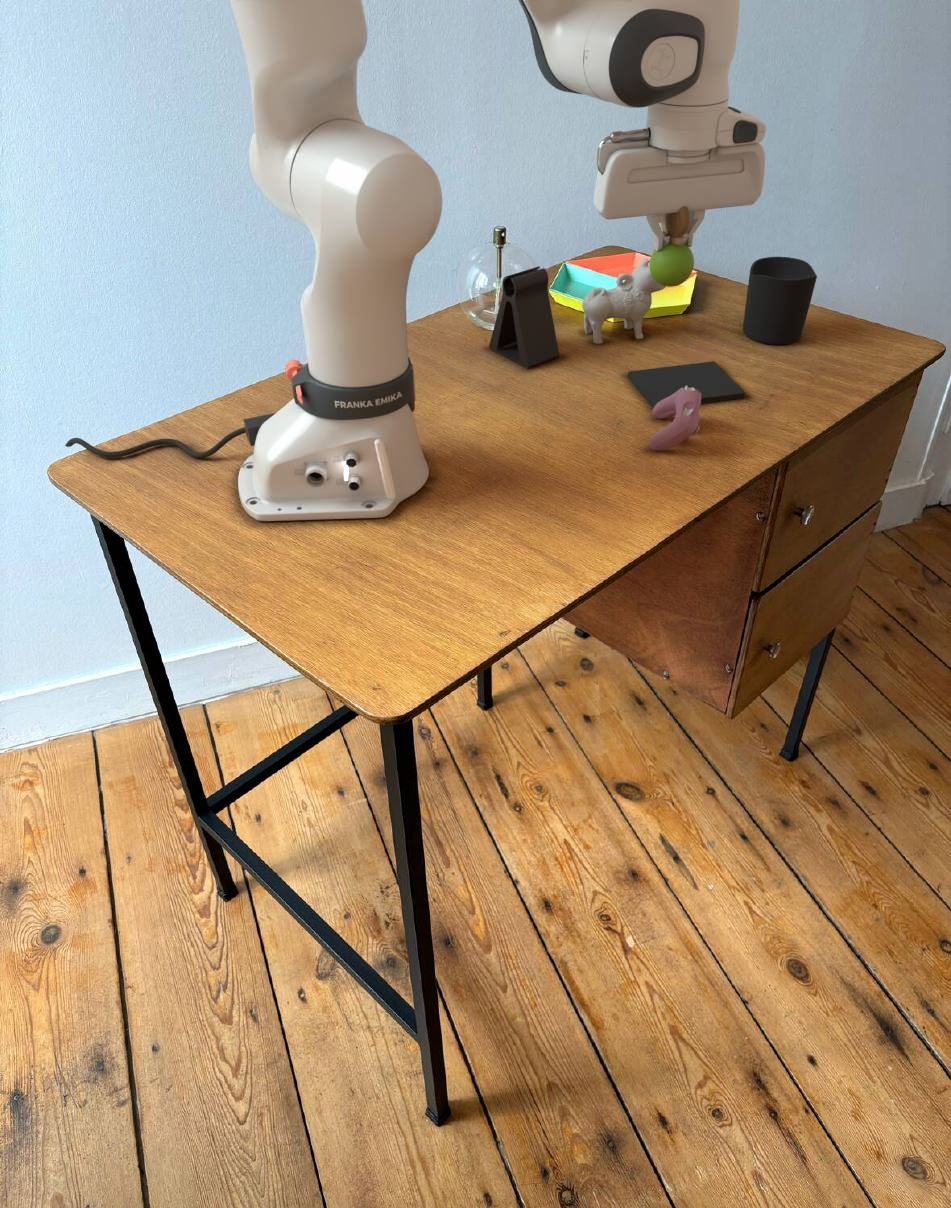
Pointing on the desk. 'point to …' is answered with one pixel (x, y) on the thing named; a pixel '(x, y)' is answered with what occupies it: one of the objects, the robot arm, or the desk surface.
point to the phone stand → (525, 320)
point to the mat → (686, 382)
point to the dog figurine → (621, 302)
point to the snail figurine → (673, 251)
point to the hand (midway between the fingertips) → (672, 247)
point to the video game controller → (677, 418)
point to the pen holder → (778, 299)
